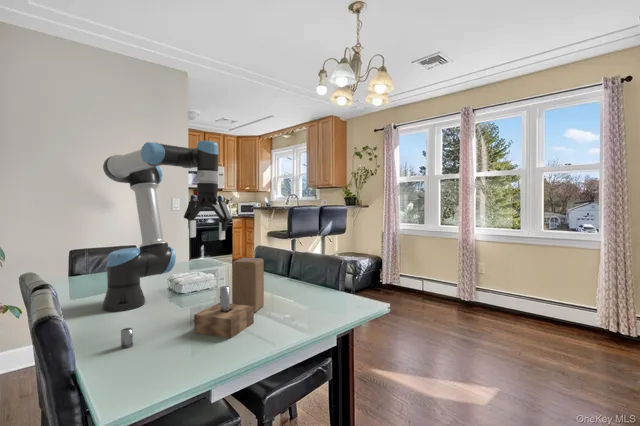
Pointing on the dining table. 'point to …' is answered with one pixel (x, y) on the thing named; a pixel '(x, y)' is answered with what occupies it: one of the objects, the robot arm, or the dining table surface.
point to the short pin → (126, 338)
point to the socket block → (224, 320)
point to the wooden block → (248, 282)
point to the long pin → (224, 299)
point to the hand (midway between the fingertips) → (207, 238)
